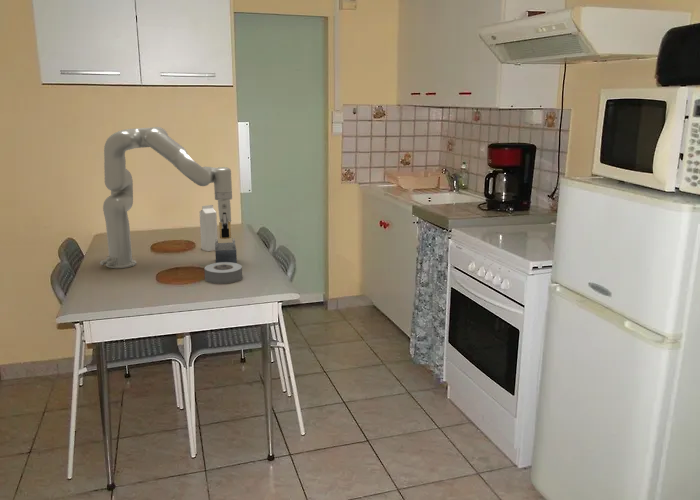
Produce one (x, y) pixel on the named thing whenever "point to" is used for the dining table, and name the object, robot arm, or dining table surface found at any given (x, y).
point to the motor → (225, 252)
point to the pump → (221, 228)
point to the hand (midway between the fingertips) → (225, 235)
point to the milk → (208, 228)
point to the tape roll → (223, 272)
